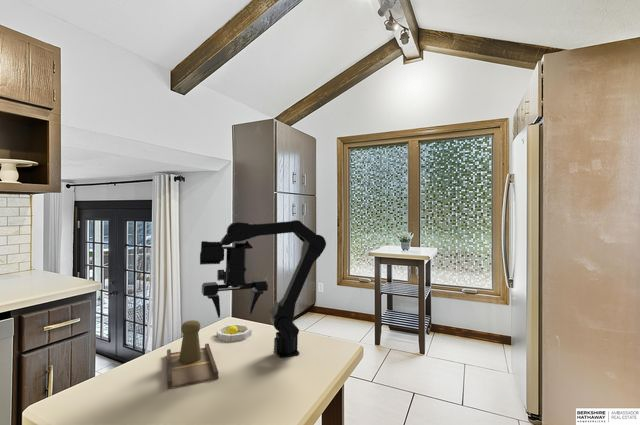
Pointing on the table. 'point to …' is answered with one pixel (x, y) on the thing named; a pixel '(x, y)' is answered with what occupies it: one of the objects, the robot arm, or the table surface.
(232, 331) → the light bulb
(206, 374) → the channel board
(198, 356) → the olive pawn shaped piece
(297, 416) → the table surface
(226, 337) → the white dish rim
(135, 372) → the table surface
